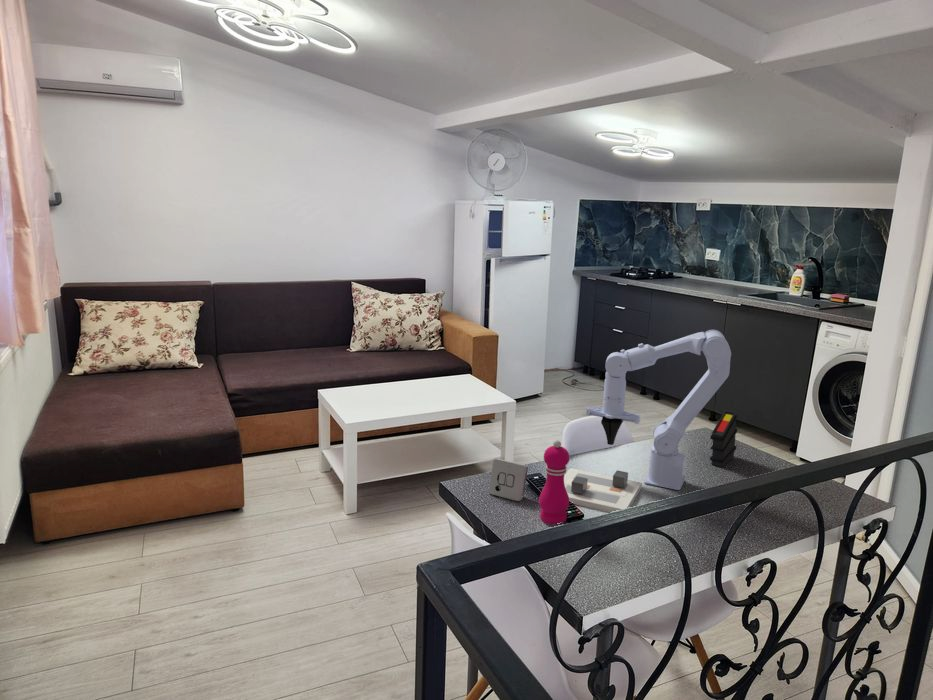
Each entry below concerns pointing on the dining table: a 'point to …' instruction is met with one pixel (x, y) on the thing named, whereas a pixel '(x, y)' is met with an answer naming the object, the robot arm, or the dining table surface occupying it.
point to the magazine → (724, 439)
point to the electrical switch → (508, 479)
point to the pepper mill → (554, 485)
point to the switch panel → (601, 491)
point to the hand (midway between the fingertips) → (610, 443)
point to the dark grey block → (620, 479)
